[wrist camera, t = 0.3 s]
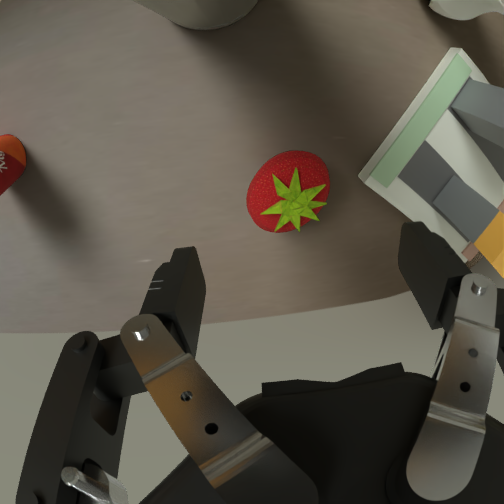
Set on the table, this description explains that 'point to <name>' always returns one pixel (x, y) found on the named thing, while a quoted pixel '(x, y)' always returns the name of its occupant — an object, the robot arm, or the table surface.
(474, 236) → the orange-topped grey pillar
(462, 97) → the grey base plate
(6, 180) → the paper cup
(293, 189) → the strawberry
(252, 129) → the table surface
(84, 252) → the table surface
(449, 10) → the water bottle
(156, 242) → the table surface
